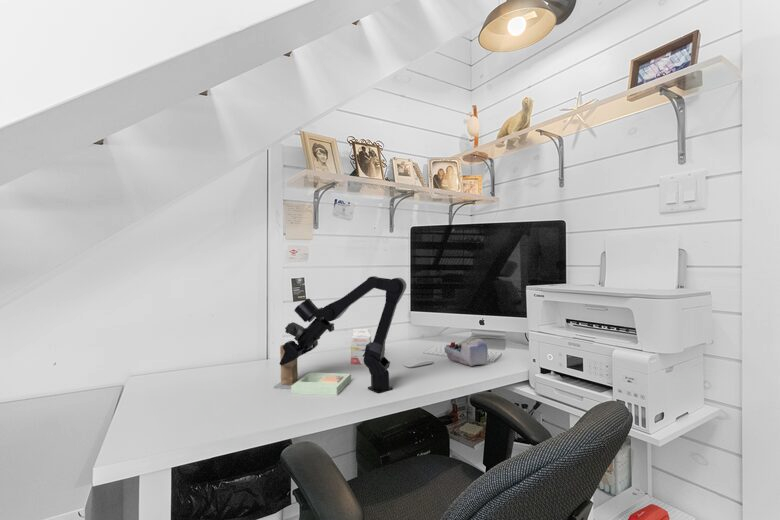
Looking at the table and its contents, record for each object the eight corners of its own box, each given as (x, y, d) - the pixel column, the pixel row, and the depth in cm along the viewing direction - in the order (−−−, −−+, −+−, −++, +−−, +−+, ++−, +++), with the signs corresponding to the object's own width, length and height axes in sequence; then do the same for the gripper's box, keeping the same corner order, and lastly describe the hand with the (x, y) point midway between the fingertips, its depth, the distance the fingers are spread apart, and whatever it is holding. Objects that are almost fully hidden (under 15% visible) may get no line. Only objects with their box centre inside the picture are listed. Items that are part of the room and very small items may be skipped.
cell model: (469, 342, 152) (440, 336, 170) (470, 369, 152) (441, 360, 169) (493, 339, 158) (463, 332, 176) (495, 364, 157) (465, 356, 175)
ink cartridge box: (350, 364, 164) (350, 330, 164) (352, 361, 169) (352, 328, 169) (370, 364, 163) (369, 330, 163) (371, 361, 168) (371, 328, 168)
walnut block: (297, 381, 138) (296, 343, 139) (292, 385, 134) (291, 346, 134) (286, 381, 139) (285, 343, 139) (281, 385, 135) (280, 346, 135)
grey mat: (304, 382, 140) (304, 380, 140) (294, 389, 132) (294, 387, 132) (284, 381, 141) (284, 379, 141) (273, 388, 134) (273, 386, 134)
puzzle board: (350, 380, 141) (350, 370, 141) (336, 395, 125) (336, 383, 125) (310, 378, 144) (309, 368, 144) (291, 393, 128) (291, 381, 128)
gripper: (309, 312, 145) (283, 340, 147) (287, 319, 127) (258, 351, 129) (329, 332, 144) (302, 360, 146) (309, 342, 125) (279, 375, 127)
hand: (286, 361), depth 137 cm, fingers open, 9 cm apart
